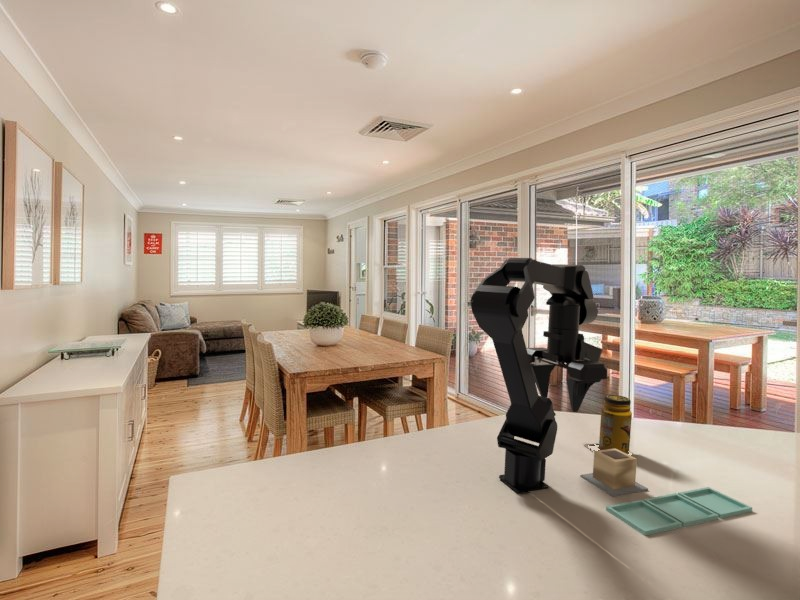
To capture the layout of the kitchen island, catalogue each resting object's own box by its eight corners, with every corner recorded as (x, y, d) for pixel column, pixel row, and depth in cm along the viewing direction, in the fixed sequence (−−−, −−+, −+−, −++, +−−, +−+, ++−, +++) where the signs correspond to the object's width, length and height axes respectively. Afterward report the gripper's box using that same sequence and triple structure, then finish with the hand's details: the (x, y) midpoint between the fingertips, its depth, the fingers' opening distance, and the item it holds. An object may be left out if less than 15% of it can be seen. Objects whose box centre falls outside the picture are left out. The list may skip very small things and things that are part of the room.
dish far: (720, 520, 74) (720, 514, 74) (677, 497, 81) (678, 492, 81) (751, 512, 77) (752, 507, 77) (708, 491, 84) (708, 486, 84)
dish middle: (683, 528, 71) (684, 522, 71) (643, 504, 78) (643, 499, 78) (718, 520, 74) (718, 515, 74) (675, 498, 81) (675, 493, 81)
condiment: (638, 457, 99) (641, 402, 98) (600, 458, 97) (604, 402, 97) (617, 444, 106) (621, 392, 105) (582, 445, 105) (585, 392, 104)
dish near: (644, 537, 68) (645, 531, 68) (605, 511, 75) (606, 506, 75) (681, 528, 71) (682, 523, 71) (640, 504, 78) (641, 499, 78)
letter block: (613, 489, 82) (615, 461, 82) (592, 477, 87) (594, 450, 86) (635, 485, 84) (636, 458, 83) (613, 474, 88) (615, 447, 88)
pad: (613, 498, 80) (613, 494, 80) (580, 477, 88) (580, 474, 88) (647, 491, 83) (648, 488, 83) (613, 472, 90) (613, 469, 90)
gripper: (632, 333, 86) (627, 416, 87) (564, 321, 104) (560, 390, 105) (584, 334, 82) (579, 421, 83) (522, 322, 100) (518, 393, 101)
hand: (559, 404), depth 93 cm, fingers open, 9 cm apart
